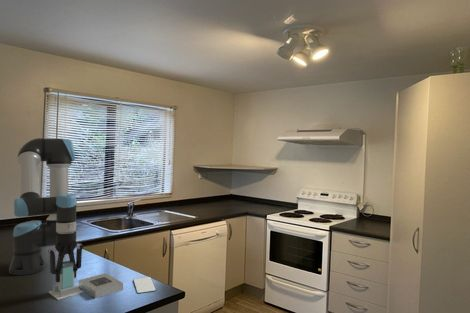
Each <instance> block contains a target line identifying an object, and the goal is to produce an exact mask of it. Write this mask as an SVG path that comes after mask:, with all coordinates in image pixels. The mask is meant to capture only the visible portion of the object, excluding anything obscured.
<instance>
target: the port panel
mask: <svg viewBox="0 0 470 313" xmlns="http://www.w3.org/2000/svg"><path fill="white" fill-rule="evenodd" d="M78 286H79V289H80V290H82V291H83V292H85V293H87V294H88V295H89V294H90V295H89V296H91V297H92V298H93V299H95V298H96V299H98V297H99V298H101V296H102V297H105V296H108V295H111V293H112V294H115V293H118V292H121V291H123V290H124V282H122V281H120V280H118V279H117V278H115V277H113V276H111V275H109V274H108V273H100V274H97V275H93V276H90V277H86V278H81V279H79V280H78ZM114 292H115V293H114ZM104 295H105V296H104Z"/></svg>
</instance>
